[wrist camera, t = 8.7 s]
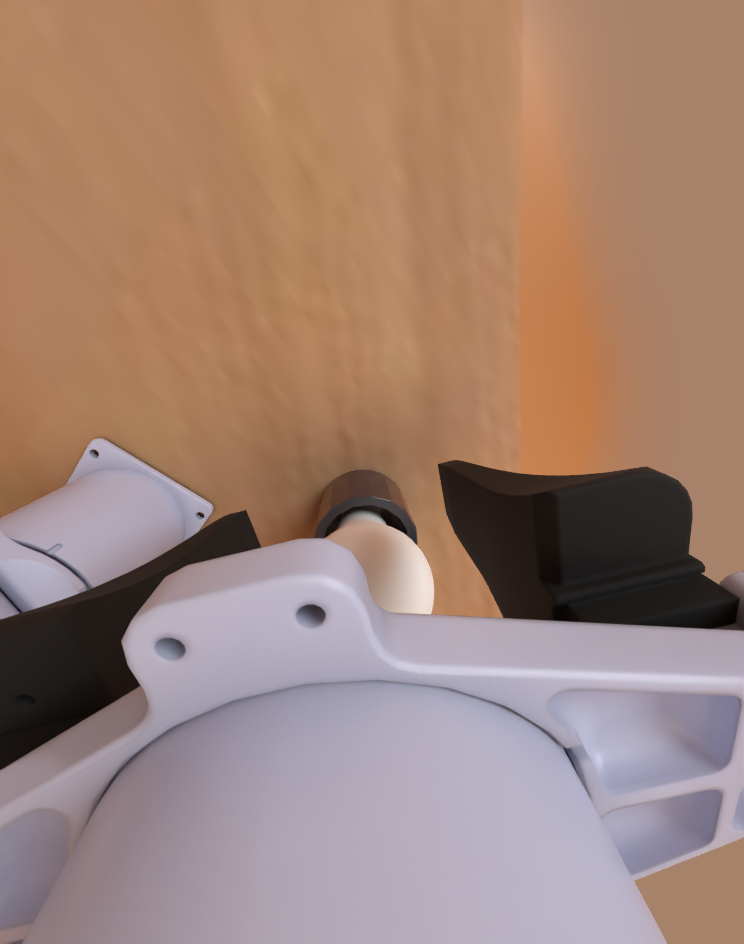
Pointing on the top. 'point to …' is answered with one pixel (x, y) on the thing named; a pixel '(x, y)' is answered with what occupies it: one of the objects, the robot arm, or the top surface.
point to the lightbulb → (387, 561)
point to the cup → (364, 502)
